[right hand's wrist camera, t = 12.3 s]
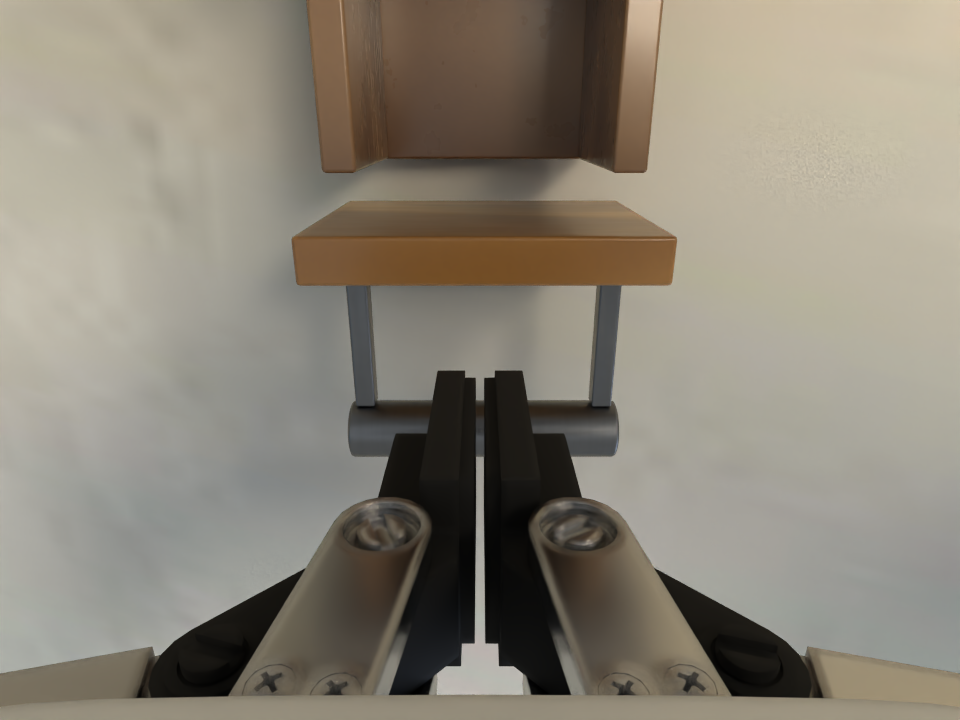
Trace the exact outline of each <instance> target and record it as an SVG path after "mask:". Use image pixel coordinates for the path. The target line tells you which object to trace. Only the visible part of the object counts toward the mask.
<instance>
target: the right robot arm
mask: <svg viewBox="0 0 960 720" xmlns="http://www.w3.org/2000/svg"><path fill="white" fill-rule="evenodd" d="M475 555H476V378H465V371H438V372H437V378H436V383H435V389H434V395H433V401H432V407H431V413H430V419H429V425H428V431H427V433H396V434H395V437H394V440H393V444H392V448H391V452H390V455H389V459H388V463H387V466H386V470H385V474H384V477H383V481H382V485H381V489H380V492H379V496H378V498H375V499H369V500H365V501H363V502H360V503H357V504H355V505H353V506H351V507H350V508H348V509H347V510H345V511H343V512H342V513H341V514H340V515H339V517H338V518H337V519H336V520H335V521H334V523H333V524H332V526H331V528H330V529H329V531H328V533H327V534H326V536H325V538H324V539H323V541H322V543H321V544H320V546H319V547H318V549H317V551H316V552H315V554H314V556H313V557H312V559H311V561H310V562H309V564H308V566H307V567H306V568H305V569H303V570H301V571H299V572H298V573H296V574H294V575H292V576H290V577H288V578H287V579H285V580H283V581H281V582H279V583H277V584H275V585H274V586H272V587H270V588H268V589H266V590H264V591H262V592H261V593H259V594H257V595H255V596H253V597H251V598H250V599H248V600H246V601H244V602H242V603H240V604H238V605H237V606H235V607H233V608H231V609H229V610H227V611H226V612H224V613H222V614H220V615H218V616H216V617H214V618H213V619H211V620H209V621H207V622H205V623H203V624H202V625H200V626H198V627H196V628H194V629H192V630H191V631H189V632H188V633H186V634H185V635H183V636H182V637H180V638H179V639H177V640H176V641H174V642H173V643H172V644H171V645H170V646H169V647H168V648H167V649H166V650H165V651H164V652H163V653H162V654H161V655H159V656H155V655H154V651H153V647H147V648H141V649H136V650H130V651H125V652H119V653H113V654H108V655H102V656H96V657H91V658H85V659H80V660H74V661H68V662H63V663H57V664H52V665H46V666H40V667H35V668H29V669H23V670H18V671H12V672H7V673H1V674H0V720H960V674H959V673H953V672H948V671H942V670H937V669H931V668H925V667H920V666H914V665H908V664H903V663H897V662H892V661H886V660H880V659H875V658H869V657H864V656H858V655H852V654H847V653H841V652H835V651H830V650H824V649H819V648H813V647H807V651H806V655H805V656H801V655H799V654H798V653H797V652H796V651H795V650H794V649H793V648H792V647H791V646H790V645H789V644H788V643H787V642H786V641H784V640H783V639H781V638H780V637H778V636H777V635H775V634H774V633H772V632H771V631H769V630H768V629H766V628H764V627H762V626H760V625H758V624H757V623H755V622H753V621H751V620H749V619H747V618H746V617H744V616H742V615H740V614H738V613H736V612H734V611H733V610H731V609H729V608H727V607H725V606H723V605H722V604H720V603H718V602H716V601H714V600H712V599H710V598H709V597H707V596H705V595H703V594H701V593H699V592H698V591H696V590H694V589H692V588H690V587H688V586H686V585H685V584H683V583H681V582H679V581H677V580H675V579H673V578H672V577H670V576H668V575H666V574H664V573H662V572H661V571H659V570H657V569H655V568H654V567H653V566H652V564H651V562H650V561H649V559H648V557H647V556H646V554H645V552H644V551H643V549H642V547H641V546H640V544H639V543H638V541H637V539H636V538H635V536H634V534H633V533H632V531H631V529H630V528H629V526H628V524H627V523H626V521H625V520H624V519H623V518H622V517H621V515H620V514H619V513H618V512H617V511H615V510H613V509H612V508H610V507H609V506H607V505H605V504H603V503H600V502H597V501H595V500H591V499H585V498H582V496H581V492H580V489H579V485H578V481H577V477H576V474H575V470H574V466H573V463H572V459H571V455H570V452H569V448H568V444H567V440H566V437H565V434H564V433H533V431H532V425H531V419H530V413H529V407H528V401H527V395H526V389H525V383H524V378H523V372H522V371H495V378H484V556H485V643H498V649H499V666H514V667H516V668H517V669H518V670H519V671H521V672H522V673H523V695H437V673H438V672H439V671H441V670H442V669H443V668H444V667H446V666H461V649H462V643H475Z"/></svg>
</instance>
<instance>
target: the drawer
mask: <svg viewBox="0 0 960 720" xmlns="http://www.w3.org/2000/svg"><path fill="white" fill-rule="evenodd" d="M306 3H307V14H308V25H309V35H310V46H311V57H312V68H313V79H314V90H315V100H316V111H317V122H318V133H319V144H320V155H321V166H322V170H323V172H325V173H354V172H356V171H358V170H361V169H363V168H366V167H368V166H370V165H373V164H375V163H377V162H380V161H382V160H385V159H582V160H584V161H587V162H589V163H592V164H594V165H597V166H599V167H602V168H605V169H607V170H610V171H612V172H615V173H644V172H646V170H647V164H648V154H649V144H650V133H651V123H652V113H653V102H654V92H655V81H656V71H657V61H658V50H659V40H660V30H661V19H662V9H663V0H306ZM676 245H677V238H676V237H675V236H674V235H672V234H670V233H669V232H667V231H665V230H664V229H662V228H660V227H659V226H657V225H655V224H654V223H652V222H650V221H649V220H647V219H645V218H644V217H642V216H640V215H639V214H637V213H635V212H634V211H632V210H630V209H629V208H627V207H625V206H624V205H622V204H620V203H619V202H617V201H350V202H348V203H346V204H345V205H343V206H341V207H340V208H338V209H337V210H335V211H333V212H332V213H330V214H329V215H327V216H325V217H324V218H322V219H321V220H319V221H317V222H316V223H314V224H313V225H311V226H310V227H308V228H306V229H305V230H303V231H302V232H300V233H298V234H297V235H295V236H294V237H292V249H293V258H294V267H295V275H296V282H297V285H300V286H346V291H347V303H348V315H349V327H350V339H351V351H352V363H353V375H354V387H355V398H356V401H354V402H353V403H352V406H351V408H350V413H349V419H348V442H349V448H350V452H351V454H352V455H353V456H355V457H389V455H390V452H391V448H392V444H393V440H394V437H395V434H396V433H427V431H428V425H429V419H430V413H431V407H432V401H433V400H377V399H378V392H377V378H376V363H375V349H374V334H373V320H372V305H371V291H370V286H597V289H596V303H595V317H594V331H593V345H592V358H591V372H590V386H589V400H527V401H528V407H529V413H530V419H531V425H532V431H533V433H564V434H565V437H566V440H567V444H568V448H569V452H570V455H571V457H612V456H614V455H615V454H616V451H617V448H618V441H619V421H618V413H617V409H616V406H615V404H614V402H613V401H611V398H612V387H613V375H614V364H615V352H616V341H617V330H618V318H619V307H620V295H621V286H661V285H671V283H672V279H673V270H674V262H675V253H676ZM476 457H484V400H476Z"/></svg>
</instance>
